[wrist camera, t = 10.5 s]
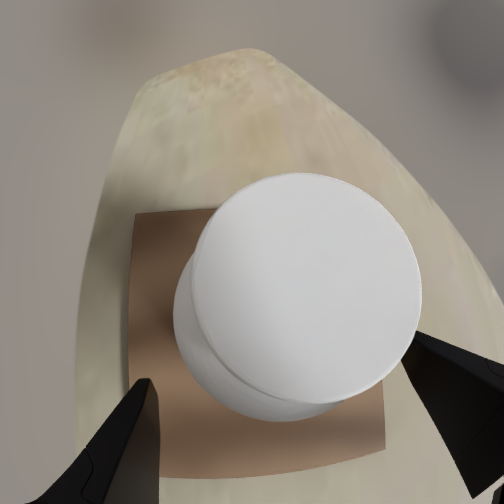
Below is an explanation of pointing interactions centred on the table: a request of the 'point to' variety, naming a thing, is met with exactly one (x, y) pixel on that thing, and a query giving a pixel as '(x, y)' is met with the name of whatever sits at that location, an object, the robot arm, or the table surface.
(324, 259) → the supplement bottle
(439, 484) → the table surface
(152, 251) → the walnut board
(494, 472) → the robot arm
